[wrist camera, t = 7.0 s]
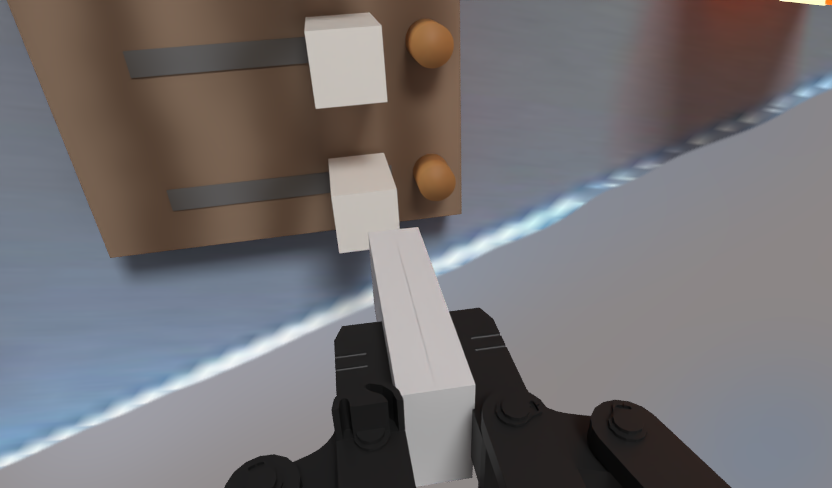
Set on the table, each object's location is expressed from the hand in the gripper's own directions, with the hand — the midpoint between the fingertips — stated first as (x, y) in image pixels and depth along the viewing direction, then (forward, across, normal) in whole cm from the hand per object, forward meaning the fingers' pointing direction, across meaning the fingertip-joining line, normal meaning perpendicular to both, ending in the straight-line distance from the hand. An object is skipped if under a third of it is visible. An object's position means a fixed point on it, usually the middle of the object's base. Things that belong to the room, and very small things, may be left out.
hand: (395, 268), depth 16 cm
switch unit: (+17, -5, +4) cm, 18 cm away
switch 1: (+14, -1, +4) cm, 14 cm away
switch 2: (+14, 0, -3) cm, 14 cm away
